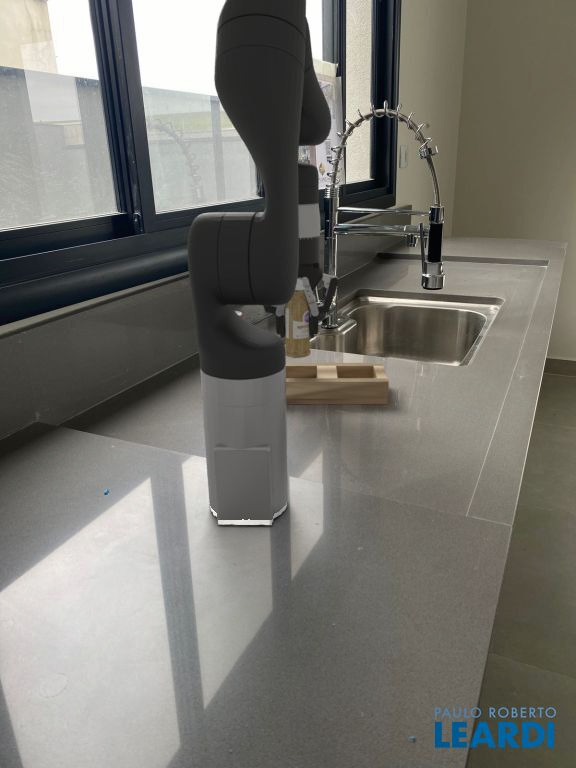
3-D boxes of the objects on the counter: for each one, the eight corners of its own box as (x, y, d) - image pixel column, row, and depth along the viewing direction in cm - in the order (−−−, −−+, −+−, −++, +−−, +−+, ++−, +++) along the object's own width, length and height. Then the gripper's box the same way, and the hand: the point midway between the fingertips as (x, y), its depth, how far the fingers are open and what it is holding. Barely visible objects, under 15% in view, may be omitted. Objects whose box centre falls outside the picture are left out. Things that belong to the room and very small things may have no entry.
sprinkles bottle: (306, 359, 101) (305, 279, 96) (280, 357, 102) (278, 278, 97) (314, 352, 105) (314, 274, 100) (289, 349, 106) (288, 273, 101)
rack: (387, 404, 100) (388, 381, 99) (267, 404, 101) (267, 381, 100) (381, 383, 110) (382, 362, 108) (271, 383, 111) (270, 363, 109)
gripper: (249, 236, 93) (253, 343, 99) (342, 235, 92) (340, 342, 98) (254, 231, 100) (257, 331, 106) (340, 230, 100) (338, 330, 105)
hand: (297, 336), depth 102 cm, fingers closed on sprinkles bottle, 4 cm apart
